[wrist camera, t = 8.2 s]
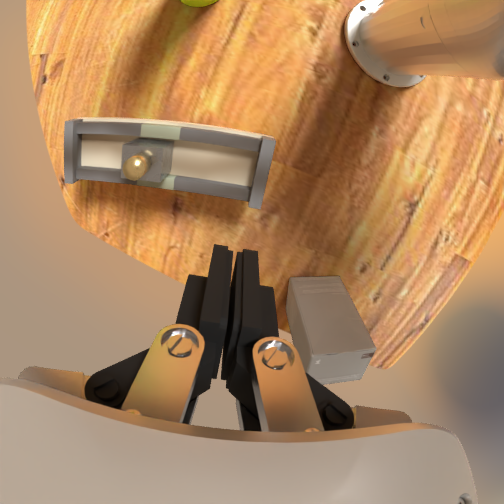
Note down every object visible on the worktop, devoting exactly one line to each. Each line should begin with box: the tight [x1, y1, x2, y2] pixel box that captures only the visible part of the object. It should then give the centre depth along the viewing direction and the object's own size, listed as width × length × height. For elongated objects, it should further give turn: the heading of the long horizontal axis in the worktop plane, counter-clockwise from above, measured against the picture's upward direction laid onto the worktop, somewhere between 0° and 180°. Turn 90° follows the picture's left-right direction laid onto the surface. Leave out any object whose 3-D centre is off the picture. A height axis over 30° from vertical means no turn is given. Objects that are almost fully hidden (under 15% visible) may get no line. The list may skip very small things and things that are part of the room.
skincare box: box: [286, 276, 376, 385], centre depth 36 cm, size 8×7×16 cm
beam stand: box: [64, 117, 276, 209], centre depth 28 cm, size 7×22×8 cm, turn 79°
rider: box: [121, 138, 174, 182], centre depth 24 cm, size 3×4×6 cm
